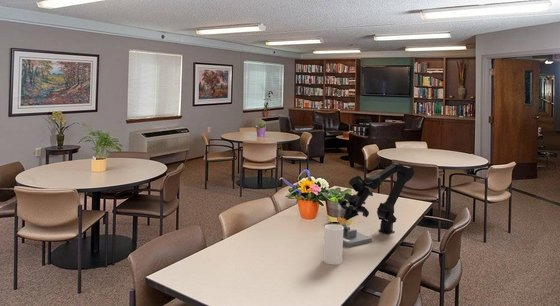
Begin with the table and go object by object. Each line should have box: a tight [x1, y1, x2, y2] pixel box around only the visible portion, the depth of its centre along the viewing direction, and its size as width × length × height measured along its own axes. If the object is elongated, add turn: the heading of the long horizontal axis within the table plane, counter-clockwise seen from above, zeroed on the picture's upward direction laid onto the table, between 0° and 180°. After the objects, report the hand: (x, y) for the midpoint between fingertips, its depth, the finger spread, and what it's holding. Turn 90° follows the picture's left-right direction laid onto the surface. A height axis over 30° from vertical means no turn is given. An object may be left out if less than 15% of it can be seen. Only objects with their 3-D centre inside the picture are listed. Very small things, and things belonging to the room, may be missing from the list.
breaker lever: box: [337, 217, 349, 233], centre depth 221 cm, size 2×5×11 cm
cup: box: [323, 223, 344, 266], centre depth 193 cm, size 8×8×16 cm
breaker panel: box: [343, 226, 373, 248], centre depth 223 cm, size 16×18×6 cm
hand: (343, 220), depth 221 cm, fingers closed
